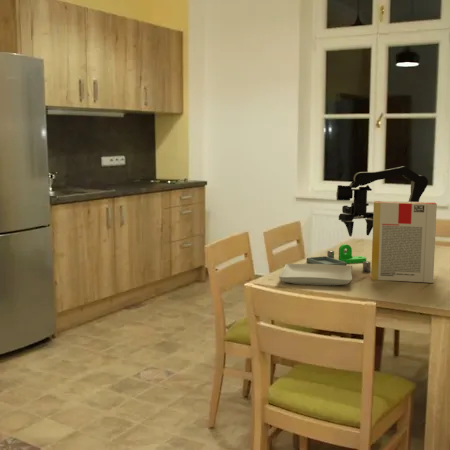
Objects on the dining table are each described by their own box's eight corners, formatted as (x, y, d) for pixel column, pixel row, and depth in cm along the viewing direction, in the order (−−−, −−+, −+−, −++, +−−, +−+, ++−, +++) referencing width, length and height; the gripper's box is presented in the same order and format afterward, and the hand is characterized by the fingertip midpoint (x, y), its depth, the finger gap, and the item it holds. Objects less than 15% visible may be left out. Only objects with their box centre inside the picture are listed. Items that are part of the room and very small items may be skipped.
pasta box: (431, 278, 239) (435, 202, 235) (433, 282, 231) (436, 204, 228) (371, 275, 245) (374, 200, 241) (371, 279, 237) (373, 202, 233)
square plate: (351, 273, 249) (352, 264, 248) (351, 289, 222) (352, 278, 222) (285, 271, 254) (285, 261, 254) (278, 285, 228) (278, 275, 227)
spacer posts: (358, 256, 285) (358, 248, 285) (402, 269, 257) (403, 259, 257) (324, 259, 278) (324, 251, 277) (365, 272, 250) (366, 263, 249)
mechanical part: (345, 264, 268) (346, 246, 267) (338, 261, 274) (338, 244, 273) (368, 262, 272) (369, 244, 271) (361, 260, 278) (361, 243, 277)
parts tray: (325, 260, 276) (325, 256, 275) (346, 266, 261) (346, 262, 261) (306, 262, 272) (306, 257, 271) (326, 268, 257) (326, 264, 257)
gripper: (366, 198, 279) (365, 232, 281) (332, 200, 271) (331, 234, 273) (381, 200, 269) (380, 235, 271) (346, 202, 261) (345, 238, 263)
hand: (359, 235), depth 270 cm, fingers open, 9 cm apart
